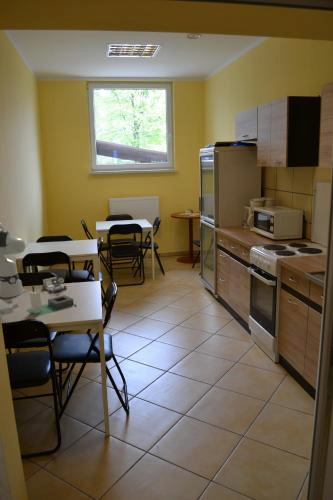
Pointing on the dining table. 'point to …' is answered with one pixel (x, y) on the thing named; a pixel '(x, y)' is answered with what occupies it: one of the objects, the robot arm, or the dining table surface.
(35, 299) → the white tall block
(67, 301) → the grey square tray
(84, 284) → the dining table surface
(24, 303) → the dining table surface
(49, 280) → the grey mechanical device
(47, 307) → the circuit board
